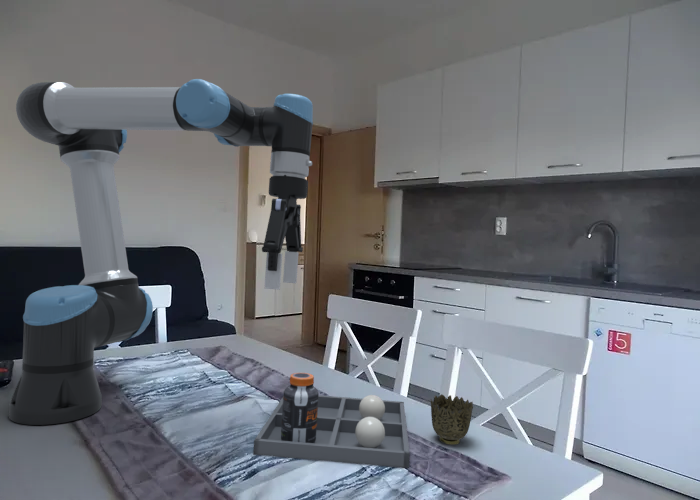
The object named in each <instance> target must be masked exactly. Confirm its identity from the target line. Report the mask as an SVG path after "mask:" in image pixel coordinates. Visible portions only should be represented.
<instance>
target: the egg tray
mask: <svg viewBox="0 0 700 500" xmlns="http://www.w3.org/2000/svg"><path fill="white" fill-rule="evenodd" d="M362 399H363V398H360V397H359V398H358V397H346V396H345V397H343V396H333V395H320V394H319V395H318V412H317V430H316V441H315V443H304V442H292V441H281V426H282V411H283V397H281V399H280V401H279V402H278V403H277V406H276V407H275V408H274V409H273V411H272V413H271V414H270V415H269V417H268V419H267V421H265V423H264V425H263V426H262V428H261V429H260V431H259V432H258V433H257V435H256V436H255V438H254V440H253V453H252V454H253V455H254V456H266V457H276V458H287V459H299V460H301V459H302V460H310V461H311V460H312V461H321V462H322V461H325V462H334V463H345V464H358V465H368V466H369V465H370V466H381V467H382V466H383V467H392V468H402V469H410V455H411V454H410V446H409V445H410V444H409V436H408V427H407V419H406V412H405V402H404V401H398V400H383V399H382V401H383V402H384V405H385V413H384V415H383V417H382V418H381V419H380V421H381V422H382V424H383V426H384V429H385V437H384V440H383V442H382V443H381V444H380V445H379V446H378V447H376V448H365V447H363V446H362V445H360V444H359V442H358V441H357V439H356V435H355V430H356V426H357V424H358V423H359V421H360V420H362V419H363V418H362V416H361V415H360V412H359V405H360V402H361V400H362Z"/></svg>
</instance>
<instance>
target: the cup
mask: <svg viewBox="0 0 700 500" xmlns="http://www.w3.org/2000/svg"><path fill="white" fill-rule="evenodd" d="M473 403H474V402H473V401H469V399H467V400H464V398H463V397H462V396H461V397H459V396H456V395H455V396H454V398H453V399H452V395H451V394H450V395H448V396H447V397H446V396H445V395H444V394H440V395H438V396H437V395H436V394H435V395H434V396H433V400H432V398H430V410H431V411H430V413H431V414H430V415H431V424H432V427H433V431H434V432H435V434H436V435H437V436H438V437H439V438H438V440H439V441H440V442H441V443H443V444H446V445H451V446H452V445H459V444H460V443H461V439H463V438H464V437H466V435H467V434H468V432H469V429H470V426H471V419H472V413H473V408H474V404H473Z"/></svg>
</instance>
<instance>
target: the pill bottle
mask: <svg viewBox="0 0 700 500" xmlns="http://www.w3.org/2000/svg"><path fill="white" fill-rule="evenodd" d="M314 383H315V377H314V375H313V374H311V373H308V372H294V373H291V374H290V375H289V384H290V385H288V386H286V387H285V389H284V390H283V396H282V398H283V411H282V426H281V441H292V442H304V443H315V441H316V430H317V412H318V395H320V394H319V393H320V392H319V391H318V389H317V388H316V386H314Z"/></svg>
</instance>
